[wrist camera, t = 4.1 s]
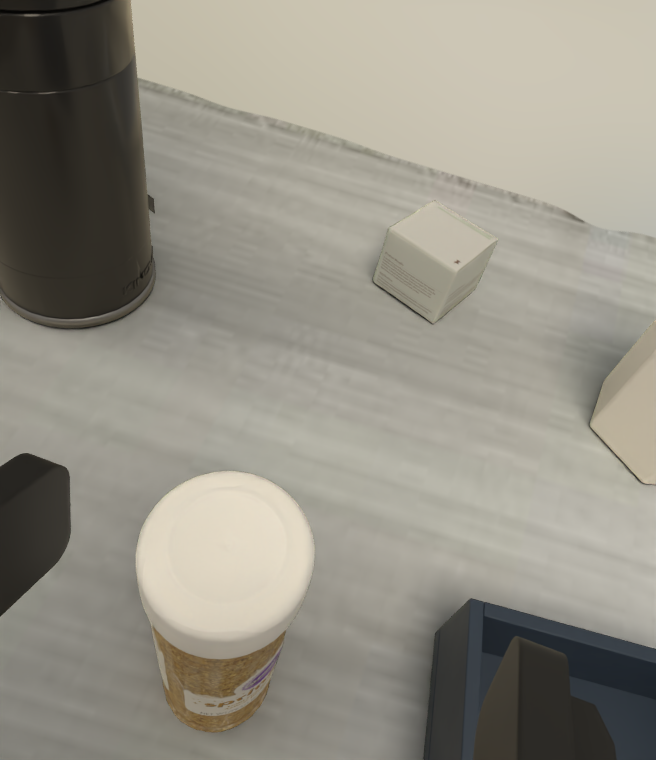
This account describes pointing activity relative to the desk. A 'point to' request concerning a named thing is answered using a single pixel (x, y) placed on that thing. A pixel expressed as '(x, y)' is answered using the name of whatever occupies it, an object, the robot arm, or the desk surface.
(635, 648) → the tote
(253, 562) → the sprinkles bottle
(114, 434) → the desk surface
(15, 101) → the robot arm
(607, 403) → the jar
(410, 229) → the small box
